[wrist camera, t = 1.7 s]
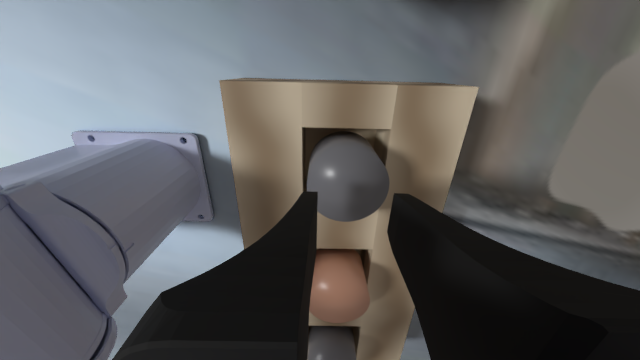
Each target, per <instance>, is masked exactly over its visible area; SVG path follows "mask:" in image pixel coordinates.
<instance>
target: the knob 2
mask: <svg viewBox="0 0 640 360" xmlns="http://www.w3.org/2000/svg"><path fill="white" fill-rule="evenodd" d="M307 360H356V352H355V344H354V336H353V329H352V327H351V326H311V327H310V329H309V337H308V359H307Z"/></svg>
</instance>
